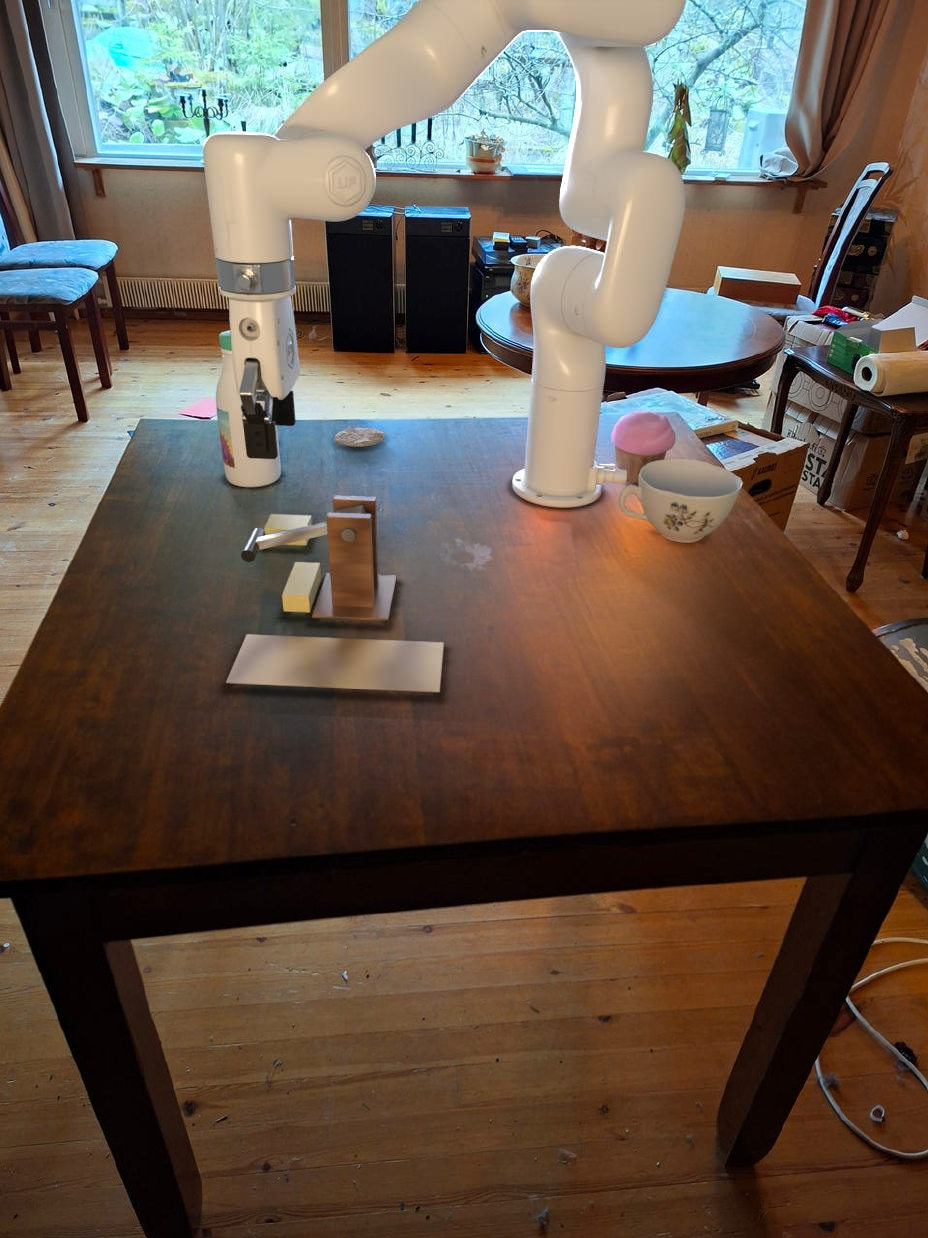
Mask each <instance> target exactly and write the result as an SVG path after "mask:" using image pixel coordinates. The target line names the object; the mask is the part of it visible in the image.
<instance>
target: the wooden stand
mask: <svg viewBox="0 0 928 1238" xmlns="http://www.w3.org/2000/svg"><path fill="white" fill-rule="evenodd" d="M332 497H333V498H332V510H333V511H332V512H327V513H326V517H325V518H326V522H327V535H326V536H327V547H328V562H329V572H326V573H325V575H324V579H323V581H322V585H321V588H320V591H319V593H318V597H317V599H316V603H315V606H314V608H313V612H312V615H311V618H312V619H329V620H331V619H333V620H355V621H356V620H358V621H380V622H381V621H382V622H389V619H390V615H391V609H392V605H393V598H394V594H395V589H396V588H395V587H396V584H397V579H398V578H397V574H379V548H378V546H379V544H378V542H379V541H378V515H377V513H378V512H377V510H378V509H377V497H376V496H361V495H359V496H358V495H339V494H338V495H336V494H334V495H333V496H332ZM359 505H363V506H364V509H365V512H366V514H352V513H337V511H338V510H342V509H346V508H351V507H355V506H359Z"/></svg>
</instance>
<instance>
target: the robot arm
mask: <svg viewBox="0 0 928 1238" xmlns="http://www.w3.org/2000/svg"><path fill="white" fill-rule="evenodd" d="M686 3H687V0H417V2H415V3H414V4H413V5H412V7H410V9H409V10H408V11H407V12H406V13H405V14H404V15H403V16H402V17H401V18H400V19H399V20H398V21H397V22H396V23H395V24H394V25H393V26H391V28H390V29H388V30H387V31H386V32H385V33H384V34H382V35H381V36H380V37H378V38H376V39H375V40H374V41H372V42H371V43H369V44H368V45H367V46H366V47H365V48H364V49H363V50H362V51H361V52H359V53H358V54H357V55H355V56H354V57H353V58H351V59H350V60H349V61H348V62H346V63H345V64H344V65H342V66H340V68H339V69H337V70H336V71H335V72H333V73H332V74H331V75H330V76H328V78H326V79H325V80H324V81H323V82H321V83H320V85H318V86H317V87H316V88H315V89H314V90H313V91H312V92H311V93H310V94H309V95H307V97H306V98H305V99H304V100H303V101H302V102H301V103H300V105H299V106H298V107H297V108H296V109H295V110H294V111H293V112H292V113H291V114H290V115H289V116H288V118H286V120H284V122H283V123H282V124H281V125H280V126H279V127H278V129H277V130H276V131H275V133H274V134H273V135H271V134H267V133H263V132H251V131H250V132H249V131H223V132H216V133H213V134H210V135H208V137H207V138H205V140H204V142H203V146H202V160H203V162H202V163H203V168H204V169H203V170H204V177H205V186H206V193H207V200H208V209H209V216H210V217H209V218H210V225H211V234H212V241H213V251H214V259H215V267H216V275H217V283H218V293H219V294H220V295H221V296H222V297H226V298H228V310H229V312H228V314H229V318H228V321H229V330H230V333H231V346H232V357H233V367H234V375H235V382H236V387H237V392H238V394H239V395H240V398H241V402H242V405H241V409H242V410H241V411H242V421H243V428H244V437H245V445H246V454H247V457H248V458H256V459H276V458H277V456H278V449H277V439H276V428H275V425H277V426H280V427H281V426H282V427H293V426H295V425H296V423H297V421H296V410H295V409H296V408H295V397H294V396H295V395H294V390H293V388H294V386H295V384H296V382H297V381H298V379H299V377H300V373H301V366H300V356H299V355H300V354H299V348H298V347H299V346H298V338H297V330H296V323H295V315H294V314H295V313H294V307H293V302H292V296H294V295H295V294H296V293H297V286H296V274H295V273H296V272H295V259H294V245H293V244H294V243H293V230H292V219H293V218H296V219H304V220H314V221H315V220H316V221H321V222H322V221H323V222H334V223H335V222H344V221H347V220H351V219H353V218H356V217H357V216H358V215H360V214H361V213H363V212H364V211H365V210H366V209H367V207H368V206H369V204H370V203H371V202H372V199H373V197H374V194H375V191H376V183H377V181H376V180H377V179H376V177H377V176H376V171H375V167H374V164H373V161H372V159H371V158H370V155H368V153H367V151H366V150H368V149H369V148H370V147H371V146H372V145H374V144H375V143H376V142H378V141H380V140H381V139H383V138H384V137H386V136H387V135H389V134H391V133H393V132H394V131H397V130H399V129H401V128H404V127H407V126H410V125H412V124H416V123H420V122H423V121H426V120H429V119H431V118H433V117H435V116H437V115H438V114H440V113H443V112H445V111H446V110H448V109H450V108H451V107H453V106H454V105H455V104H456V103H457V102H458V101H459V100H460V99H461V98H462V97H463V95H464V94H465V93H466V92H467V91H468V90H469V89H470V88H471V86H472V85H474V83H475V82H476V81H477V80H478V79H479V78H480V77H481V76H482V74H484V73H485V71H486V70H488V68H489V67H490V66H491V65H492V64H493V63H494V62H496V59H498V58H499V57H500V56H501V55H502V54H503V53H504V52H505V50H506V49H507V48H509V46H511V44H512V43H513V42H514V41H515V40H517V38H518V37H519V36H520V35H522V34H523V33H527V32H529V33H531V32H553V33H554V32H555V33H556V35H557V37H558V38H559V40H560V41H561V43H562V44H563V46H564V48H565V50H566V52H567V55H568V56H569V59H570V61H571V64H572V67H573V71H574V76H575V82H576V102H575V109H574V117H573V122H572V129H571V133H570V138H569V144H568V149H567V153H566V159H565V165H564V170H563V176H562V179H561V180H562V181H561V186H560V191H559V192H560V193H559V202H558V204H559V213H560V217H561V219H562V221H563V222H564V223H565V225H566V226H567V227H568V228H569V229H571V230H573V231H574V232H576V233H578V234H582V235H584V236H587V237H589V238H594V239H598V240H601V241H605V242H606V244H605V245H606V246H605V251H604V252H602V251H598V250H594V249H591V248H587V247H583V246H576V245H570V246H562V247H558V248H556V249H553V250H552V251H549V252H548V253H547V254H546V255H545V256H544V257H543V258H542V259H541V260H540V262H539V263H538V264H537V266H536V268H535V270H534V272H533V275H532V278H531V283H530V291H529V300H530V304H529V305H530V313H531V322H532V323H531V324H532V338H533V341H532V342H533V343H532V344H533V346H532V367H531V379H530V390H529V391H530V392H529V402H528V403H529V405H528V417H527V418H528V419H527V429H526V430H527V431H526V443H525V458H524V468H522V469H520V470H518V471H517V472H516V473H515V474H514V475H513V477H512V483H511V484H512V485H511V487H512V490H513V491H514V493H515V494H516V495H517V496H519V497H520V498H521V499H523V500H525V501H527V502H530V503H532V504H535V505H539V506H543V507H549V508H558V509H559V508H562V509H563V508H564V509H566V508H577V507H583V506H587V505H589V504H591V503H593V502H595V501H597V500H598V499H599V498H600V497H601V495H602V491H603V485H604V483H611V484H619V485H620V484H621V485H625V484H627V481H628V479H627V470H619V469H617V464H614V463H605V464H604V463H600V462H599V461H597V459H596V458H597V457H596V449H597V442H598V441H597V440H598V434H599V433H598V432H599V426H600V416H601V409H602V403H603V402H602V401H603V393H604V387H605V381H606V369H607V357H606V347H610V348H612V349H626V348H630V347H632V346H634V345H636V344H638V343H639V342H641V341H642V340H643V339H644V338H645V337H646V336H647V335H648V334H649V332H650V331H651V329H652V328H653V326H654V324H655V322H656V320H657V318H658V315H659V312H660V309H661V306H662V303H663V300H664V297H665V293H666V289H667V285H668V282H669V277H670V274H671V269H672V267H673V262H674V259H675V254H676V250H677V247H678V243H679V239H680V236H681V231H682V228H683V223H684V219H685V212H686V188H685V182H684V178H683V175H682V174H681V173H682V172H681V171H680V170H679V168H678V167H677V165H676V164H675V163H674V162H673V161H671V159H670V158H668V157H666V156H665V155H663V154H660V153H656V152H651V151H645V150H646V149H645V148H646V144H647V137H648V132H649V127H650V121H651V116H652V109H653V103H654V80H653V79H654V78H653V73H652V68H651V63H650V61H649V57H648V53H647V51H646V48H647V47H650V46H653V45H655V44H657V43H659V42H661V41H663V40H664V39H665V38H666V37H667V36H669V35H670V34H671V32H672V31H673V30H674V29H675V28H676V26H677V24H678V23H679V21H680V19H681V17H682V15H683V12H684V10H685V7H686ZM605 346H606V347H605ZM256 390H264V392H257V391H256ZM257 401H265V405H264V410H263V407H262V406H261V404H260V403H257Z"/></svg>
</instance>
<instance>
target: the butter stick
mask: <svg viewBox="0 0 928 1238" xmlns="http://www.w3.org/2000/svg"><path fill="white" fill-rule="evenodd" d="M321 582H322V568H321V563H320V562H311V561H310V562H306V561H295V562H294V564H293V566H292V569H291V572H290V574H289V576H288V578H287V581H286V584H285V586H284V589H283V592H282V594H281V600H282V609H283V612H291V613H311V610H312V608H313V604H314V602H315V599H316V595H317V594H318V591H319V590H318V589H319V587H320V584H321Z"/></svg>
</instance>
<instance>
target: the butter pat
mask: <svg viewBox="0 0 928 1238" xmlns="http://www.w3.org/2000/svg"><path fill="white" fill-rule="evenodd" d="M310 525H313V521H312V515H308V514H307V515H306V514H284V513H283V514H282V513H270V515H269V517H268V519H267V521H266V523H265V524H264V527H263V530H264V531H265V533H266V535H270V534H275V533H279V532H284V531H288V530H292V529H297V528H301V527H306V526H310ZM309 540H310V539H306V540H301V541H297V542H292V543H288V544H283V545H286V546H287V545H288V546H307V545H308V543H309Z"/></svg>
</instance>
